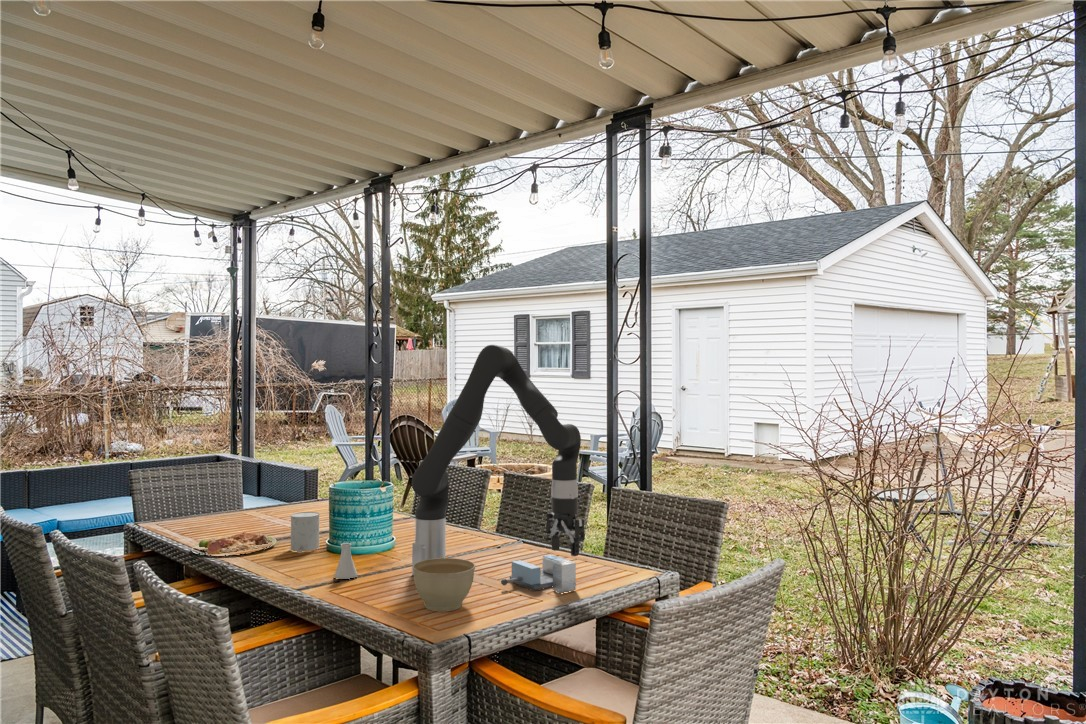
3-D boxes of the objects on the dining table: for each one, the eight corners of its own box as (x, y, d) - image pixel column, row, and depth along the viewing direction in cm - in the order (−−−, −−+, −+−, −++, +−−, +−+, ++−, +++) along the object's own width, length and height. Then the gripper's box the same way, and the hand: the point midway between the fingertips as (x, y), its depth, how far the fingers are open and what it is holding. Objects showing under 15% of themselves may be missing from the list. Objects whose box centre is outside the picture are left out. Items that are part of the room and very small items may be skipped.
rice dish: (235, 565, 235) (236, 548, 235) (171, 554, 245) (172, 538, 245) (293, 546, 261) (293, 531, 262) (233, 537, 271) (233, 522, 271)
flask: (335, 582, 211) (336, 547, 211) (330, 576, 218) (331, 542, 218) (360, 579, 214) (360, 545, 215) (355, 573, 221) (355, 540, 221)
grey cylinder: (284, 551, 248) (284, 515, 248) (303, 545, 257) (303, 511, 257) (306, 554, 244) (306, 517, 245) (325, 548, 253) (325, 513, 254)
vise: (533, 591, 202) (533, 569, 203) (509, 581, 212) (509, 561, 212) (574, 582, 211) (574, 561, 212) (549, 573, 221) (550, 553, 221)
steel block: (561, 594, 200) (561, 565, 200) (553, 591, 203) (553, 562, 203) (575, 591, 203) (575, 562, 203) (566, 588, 206) (566, 559, 206)
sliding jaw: (511, 590, 199) (511, 572, 199) (491, 581, 207) (491, 565, 207) (541, 583, 205) (541, 566, 205) (521, 575, 213) (521, 559, 213)
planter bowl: (448, 621, 177) (448, 576, 178) (399, 609, 186) (400, 567, 186) (487, 603, 191) (487, 562, 191) (440, 594, 200) (440, 554, 200)
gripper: (538, 493, 207) (539, 550, 206) (570, 499, 195) (570, 560, 195) (559, 490, 211) (559, 546, 211) (591, 496, 200) (591, 555, 200)
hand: (565, 552), depth 203 cm, fingers open, 8 cm apart
